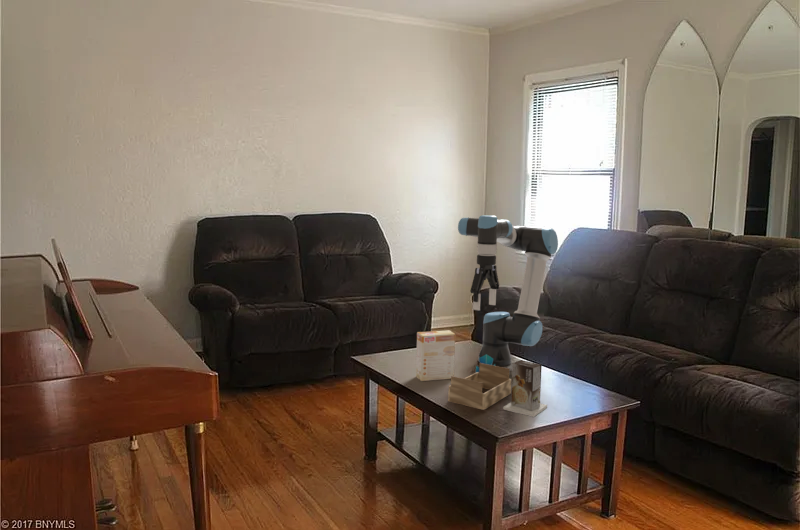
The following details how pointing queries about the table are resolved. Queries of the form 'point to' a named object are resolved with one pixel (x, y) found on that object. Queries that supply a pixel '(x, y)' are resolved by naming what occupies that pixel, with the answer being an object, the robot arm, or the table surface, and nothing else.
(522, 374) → the coffee box
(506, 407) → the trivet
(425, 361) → the coffeecake box
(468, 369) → the table surface
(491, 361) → the gemstone
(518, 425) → the table surface
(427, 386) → the table surface
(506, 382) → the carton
